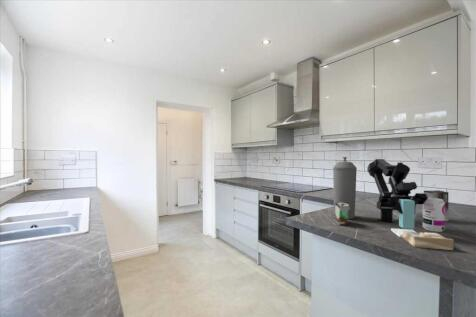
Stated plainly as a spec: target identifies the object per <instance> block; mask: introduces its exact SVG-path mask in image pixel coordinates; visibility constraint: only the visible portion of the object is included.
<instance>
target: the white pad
mask: <svg viewBox="0 0 476 317" xmlns="http://www.w3.org/2000/svg"><path fill="white" fill-rule="evenodd" d="M390 229H391V230H390V231H391V232H393V233H394V234H395V235H397V237H398V238H403V231H406V232H407V233H409V234H410V235H412V236H419V237H420V232H418V231H415V230H414V229H406V228H390Z"/></svg>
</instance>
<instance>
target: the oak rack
mask: <svg viewBox="0 0 476 317" xmlns="http://www.w3.org/2000/svg"><path fill="white" fill-rule="evenodd" d="M435 233H436V234H438V235H440V236H442V237H443V238H433V237H429V236H427V235H426V234H424V232H419V234H420V237H419V236H412V235H410V234H409V233H407V232H406V231H403V237H402V239H404V240H405V241H406V242H408V243H409V244H410V245H411V246H412V247H414V248H421V249H435V250H444V251H445V250H448V251H454V239H453V238H447V237H445V236H443V235H441V234H439V233H438V232H435Z"/></svg>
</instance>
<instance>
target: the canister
mask: <svg viewBox="0 0 476 317" xmlns="http://www.w3.org/2000/svg"><path fill="white" fill-rule="evenodd" d="M342 159H343V161H342V160H341V161H337V163H336V164H334V166H332V170H333V171H332V173H333V175H332V176H333V177H332V179H333V180H332V181H333V215H334V217H335V202H342V203H346V204H348V205H349V207H350V210H348V220H353V219H355V217H356V216H355V214H356V197H357V196H356V194H357V192H356V191H357V170H358V168H357V166H356V165H354V163H353V162H351V161H347V159H348V157H347V156H343V157H342Z"/></svg>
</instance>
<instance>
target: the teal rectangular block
mask: <svg viewBox="0 0 476 317" xmlns="http://www.w3.org/2000/svg"><path fill="white" fill-rule="evenodd" d="M399 204H400V206H401V208H402V212H403V213H402V214H401V213H400V212H399V211H398V226H399V227H400V228H401V229H408V230H414V229H415V219H416V218H415V215H416V209H415V201H413V200H410V199H399Z"/></svg>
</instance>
